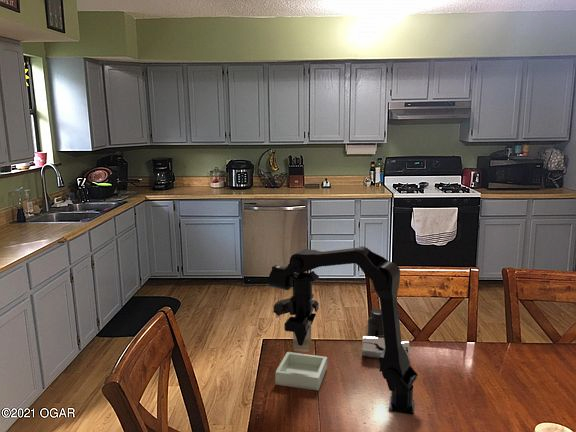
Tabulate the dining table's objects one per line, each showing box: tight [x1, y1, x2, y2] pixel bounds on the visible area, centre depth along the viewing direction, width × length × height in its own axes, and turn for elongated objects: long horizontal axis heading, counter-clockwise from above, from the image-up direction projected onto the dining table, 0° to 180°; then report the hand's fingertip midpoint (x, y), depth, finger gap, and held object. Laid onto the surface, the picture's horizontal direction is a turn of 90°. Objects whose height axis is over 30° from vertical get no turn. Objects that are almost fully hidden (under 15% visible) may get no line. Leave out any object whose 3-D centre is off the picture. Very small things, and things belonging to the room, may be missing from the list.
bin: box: [274, 351, 328, 391], centre depth 147 cm, size 13×13×4 cm
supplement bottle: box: [366, 308, 384, 337], centre depth 167 cm, size 7×7×12 cm
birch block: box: [292, 321, 312, 353], centre depth 145 cm, size 4×4×8 cm
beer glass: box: [361, 334, 410, 360], centre depth 159 cm, size 7×7×15 cm
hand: (302, 341), depth 145 cm, fingers closed on birch block, 4 cm apart
